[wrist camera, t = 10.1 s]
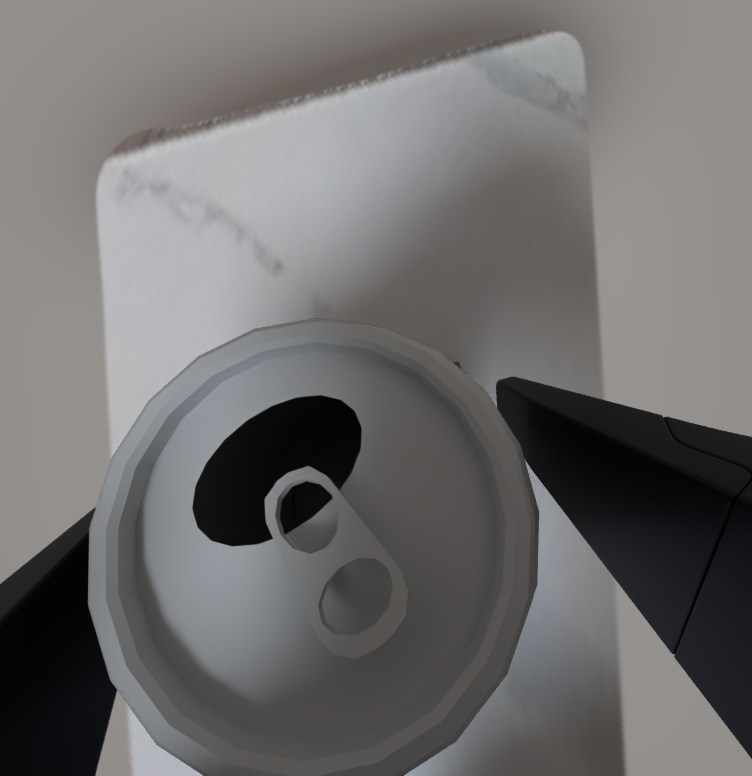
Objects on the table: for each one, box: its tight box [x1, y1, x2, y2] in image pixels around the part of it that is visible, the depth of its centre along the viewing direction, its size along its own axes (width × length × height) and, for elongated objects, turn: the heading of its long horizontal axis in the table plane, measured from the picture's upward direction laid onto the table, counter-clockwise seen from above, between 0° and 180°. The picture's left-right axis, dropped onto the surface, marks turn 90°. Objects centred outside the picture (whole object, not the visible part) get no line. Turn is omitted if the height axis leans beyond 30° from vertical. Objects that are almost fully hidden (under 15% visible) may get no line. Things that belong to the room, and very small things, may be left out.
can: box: [88, 318, 539, 776], centre depth 11 cm, size 8×8×12 cm
